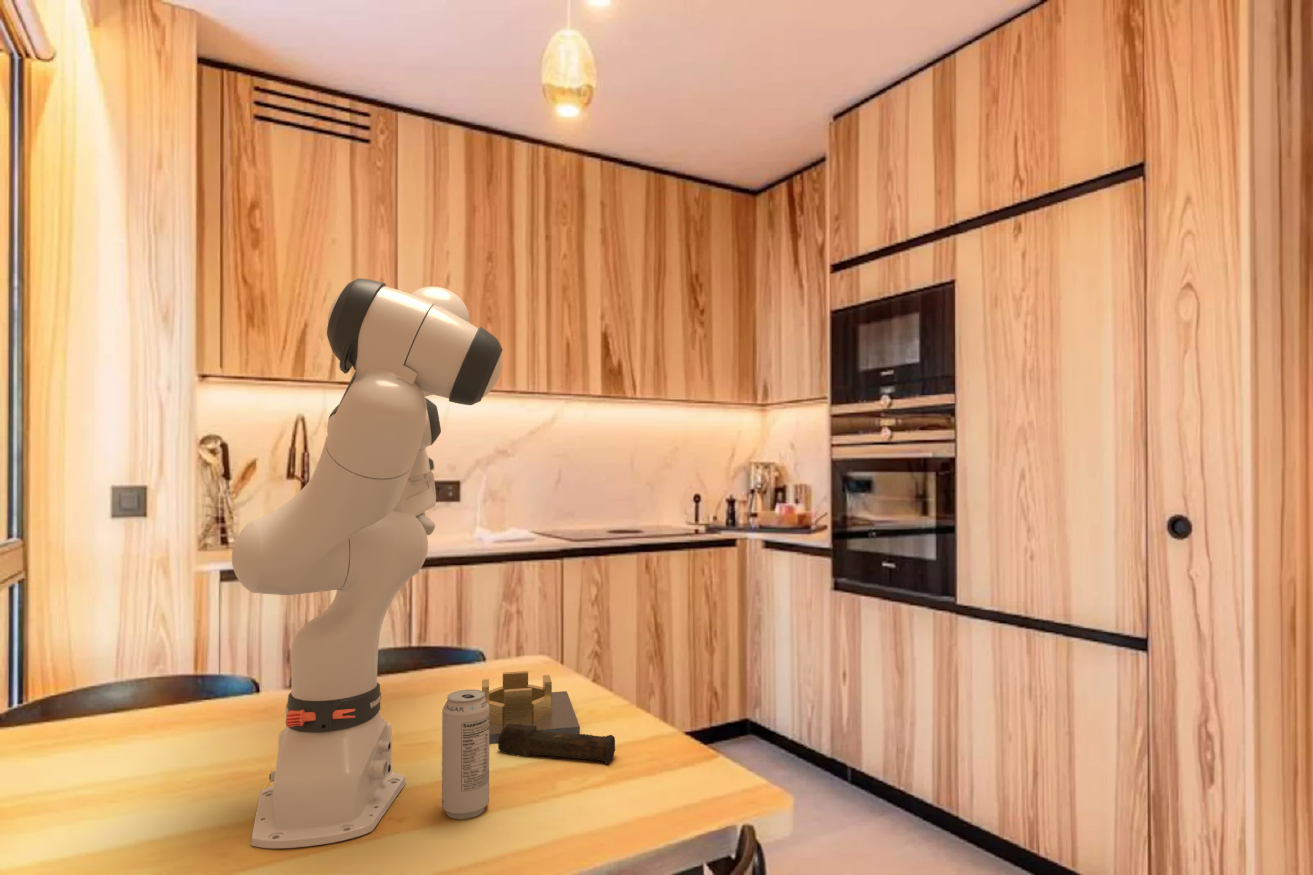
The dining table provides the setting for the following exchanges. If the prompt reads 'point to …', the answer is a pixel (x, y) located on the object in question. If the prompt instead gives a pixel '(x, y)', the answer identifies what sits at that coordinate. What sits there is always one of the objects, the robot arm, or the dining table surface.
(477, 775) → the energy drink can
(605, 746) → the dark brown textured rod
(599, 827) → the dining table surface
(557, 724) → the castellated collar
